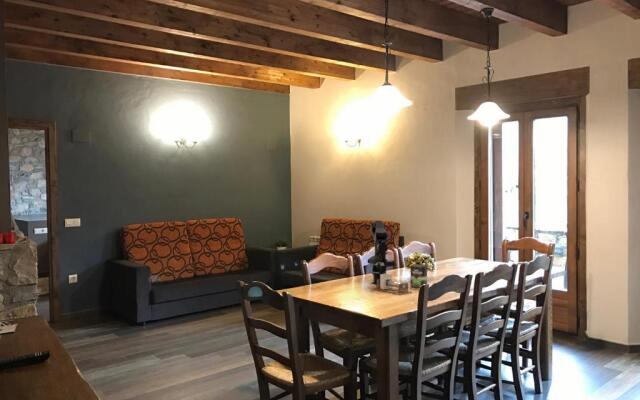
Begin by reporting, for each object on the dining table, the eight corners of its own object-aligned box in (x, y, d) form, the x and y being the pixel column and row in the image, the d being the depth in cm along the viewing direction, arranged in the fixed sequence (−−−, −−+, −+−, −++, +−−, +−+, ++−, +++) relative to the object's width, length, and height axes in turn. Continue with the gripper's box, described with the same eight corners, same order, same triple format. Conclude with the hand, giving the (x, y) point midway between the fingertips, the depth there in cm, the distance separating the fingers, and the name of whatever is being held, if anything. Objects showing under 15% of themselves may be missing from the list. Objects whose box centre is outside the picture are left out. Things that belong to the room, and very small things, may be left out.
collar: (380, 288, 321) (380, 274, 320) (388, 287, 325) (388, 273, 325) (383, 289, 318) (383, 275, 318) (392, 287, 323) (392, 273, 322)
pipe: (374, 288, 323) (374, 279, 322) (386, 286, 328) (386, 277, 328) (398, 294, 307) (398, 284, 307) (410, 291, 313) (410, 282, 313)
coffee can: (424, 290, 319) (424, 267, 319) (408, 289, 324) (408, 266, 324) (429, 287, 328) (429, 264, 328) (413, 286, 333) (413, 263, 333)
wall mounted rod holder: (373, 289, 323) (373, 279, 323) (385, 287, 329) (385, 277, 329) (399, 295, 306) (399, 285, 306) (411, 293, 312) (411, 282, 312)
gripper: (361, 250, 327) (361, 275, 327) (382, 253, 312) (382, 280, 312) (374, 249, 334) (374, 273, 334) (395, 251, 319) (395, 277, 319)
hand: (381, 276), depth 325 cm, fingers closed
